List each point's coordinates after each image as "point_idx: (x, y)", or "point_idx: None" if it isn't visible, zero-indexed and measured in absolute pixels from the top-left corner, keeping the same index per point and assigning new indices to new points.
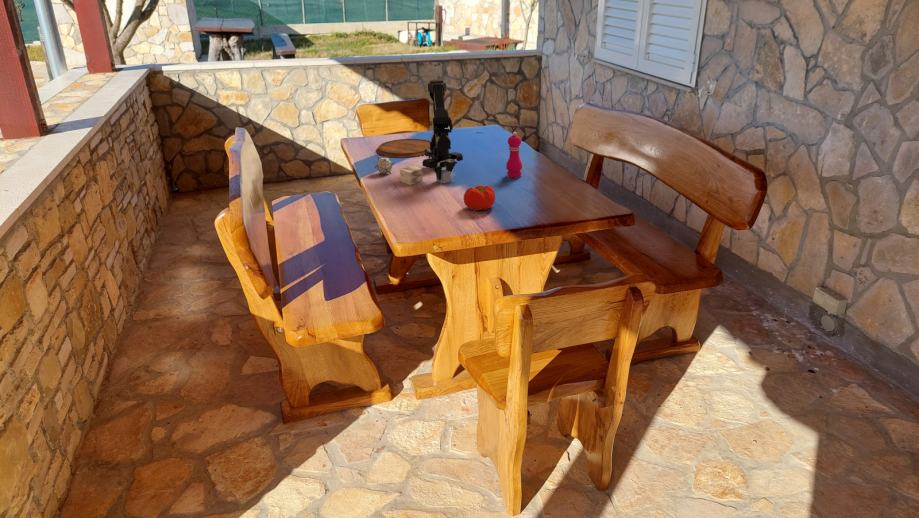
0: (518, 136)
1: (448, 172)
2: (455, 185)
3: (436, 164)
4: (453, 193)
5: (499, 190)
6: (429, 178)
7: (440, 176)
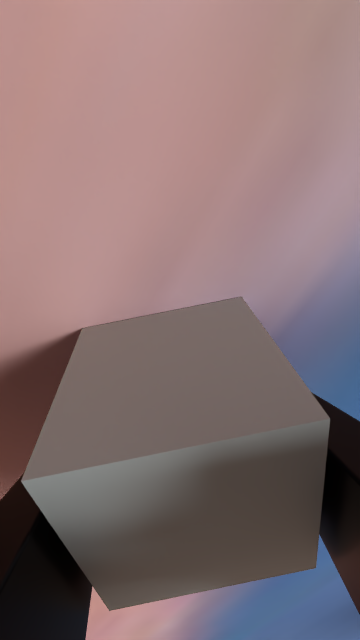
0: None
1: (258, 562)
2: None
3: None
4: (88, 623)
5: (350, 635)
6: (7, 84)
7: None
